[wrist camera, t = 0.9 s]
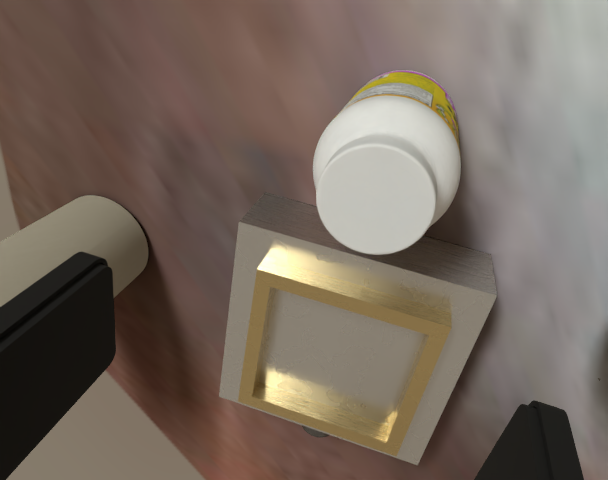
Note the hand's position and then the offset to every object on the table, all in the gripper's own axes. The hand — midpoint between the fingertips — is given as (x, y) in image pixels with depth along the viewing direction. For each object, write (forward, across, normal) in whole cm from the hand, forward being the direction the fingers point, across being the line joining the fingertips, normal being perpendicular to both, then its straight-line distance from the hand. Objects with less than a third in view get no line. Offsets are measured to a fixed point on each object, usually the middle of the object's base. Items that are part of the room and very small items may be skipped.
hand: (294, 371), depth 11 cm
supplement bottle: (+22, 0, 0) cm, 22 cm away
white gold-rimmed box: (+22, 0, +15) cm, 27 cm away
